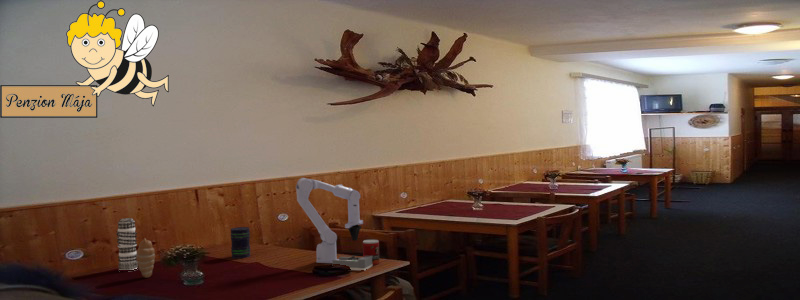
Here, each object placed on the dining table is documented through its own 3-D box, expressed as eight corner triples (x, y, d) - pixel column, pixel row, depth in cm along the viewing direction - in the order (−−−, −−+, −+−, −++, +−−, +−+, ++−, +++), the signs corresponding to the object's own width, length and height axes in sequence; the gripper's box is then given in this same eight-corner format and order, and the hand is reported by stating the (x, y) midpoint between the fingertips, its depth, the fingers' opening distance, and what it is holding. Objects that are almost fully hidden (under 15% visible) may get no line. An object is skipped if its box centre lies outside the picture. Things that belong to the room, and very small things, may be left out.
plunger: (347, 266, 276) (347, 258, 276) (353, 263, 283) (352, 255, 283) (356, 266, 275) (356, 259, 275) (361, 263, 281) (361, 256, 281)
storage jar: (230, 256, 317) (228, 228, 317) (248, 254, 321) (247, 226, 321) (233, 259, 308) (232, 230, 308) (252, 257, 312) (251, 228, 312)
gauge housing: (331, 269, 278) (330, 258, 278) (339, 264, 288) (339, 254, 287) (364, 270, 273) (364, 259, 273) (372, 265, 282) (372, 255, 282)
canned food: (372, 265, 282) (372, 242, 282) (360, 264, 287) (359, 241, 287) (382, 262, 288) (382, 240, 288) (370, 261, 293) (369, 239, 293)
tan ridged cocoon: (138, 276, 275) (136, 237, 274) (156, 274, 277) (154, 236, 277) (136, 280, 266) (135, 240, 266) (155, 278, 269) (154, 239, 269)
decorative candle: (113, 271, 288) (111, 219, 288) (130, 267, 297) (128, 217, 296) (126, 272, 284) (124, 220, 284) (142, 268, 292) (140, 217, 292)
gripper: (353, 215, 291) (354, 243, 291) (367, 211, 304) (368, 238, 304) (341, 215, 294) (342, 242, 294) (355, 211, 307) (356, 237, 307)
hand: (354, 240), depth 300 cm, fingers closed
